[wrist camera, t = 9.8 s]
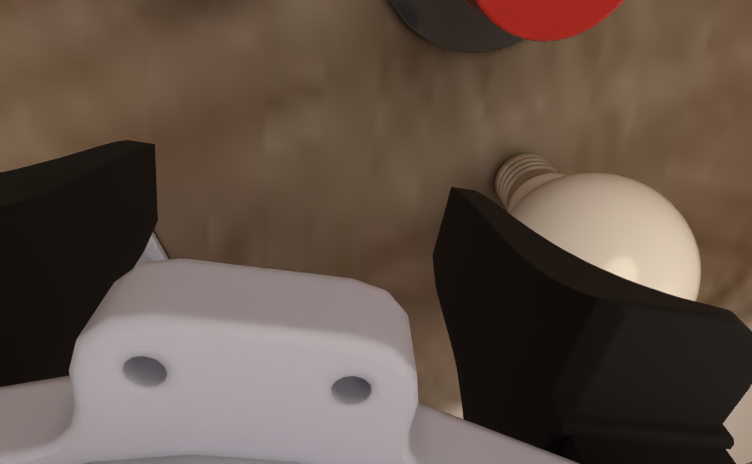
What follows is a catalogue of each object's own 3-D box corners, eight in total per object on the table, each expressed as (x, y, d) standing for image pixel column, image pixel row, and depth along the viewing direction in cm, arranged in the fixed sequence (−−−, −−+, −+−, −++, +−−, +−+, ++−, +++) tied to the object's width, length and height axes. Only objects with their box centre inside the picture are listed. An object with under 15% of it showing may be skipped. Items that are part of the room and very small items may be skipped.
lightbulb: (614, 169, 24) (790, 318, 15) (510, 255, 26) (607, 436, 17) (530, 77, 22) (676, 184, 12) (424, 180, 24) (478, 340, 15)
